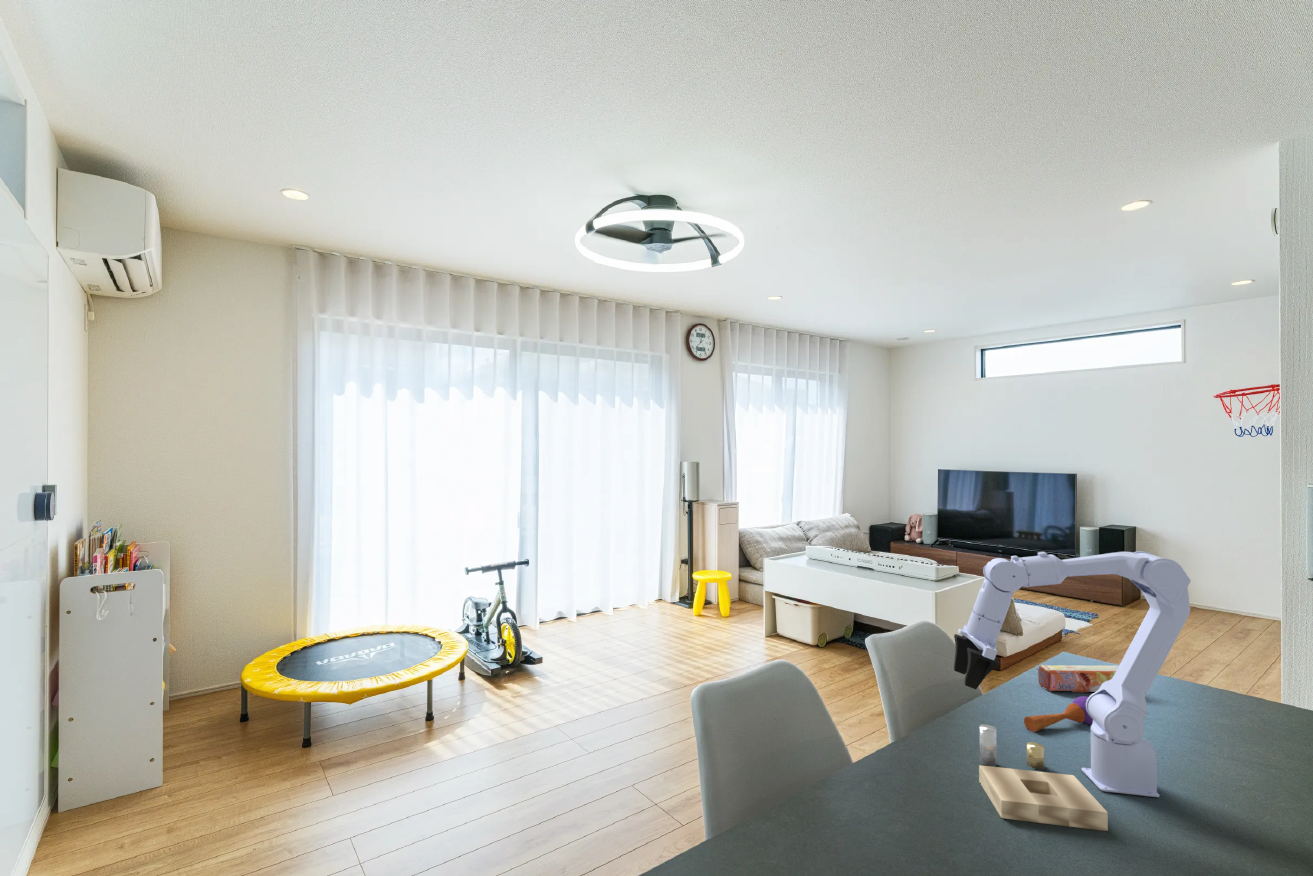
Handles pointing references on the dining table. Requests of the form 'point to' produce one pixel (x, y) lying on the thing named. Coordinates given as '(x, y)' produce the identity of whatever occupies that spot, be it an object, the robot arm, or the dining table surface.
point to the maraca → (1061, 716)
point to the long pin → (988, 745)
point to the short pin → (1035, 755)
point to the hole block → (1042, 798)
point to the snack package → (1074, 677)
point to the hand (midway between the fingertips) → (964, 679)
